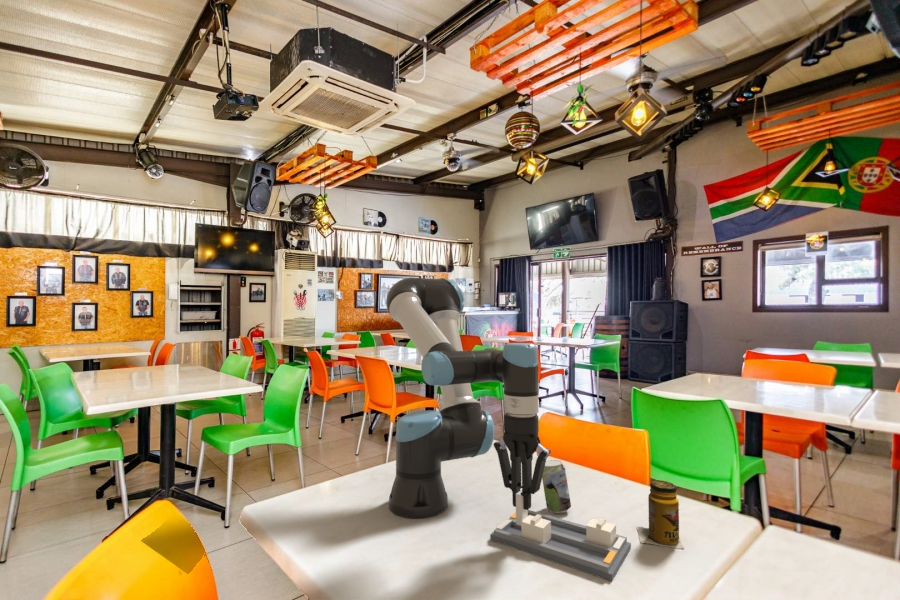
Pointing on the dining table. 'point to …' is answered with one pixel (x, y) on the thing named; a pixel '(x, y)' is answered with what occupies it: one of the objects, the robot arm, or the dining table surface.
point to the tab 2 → (601, 532)
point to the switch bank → (566, 546)
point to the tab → (536, 528)
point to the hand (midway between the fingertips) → (522, 522)
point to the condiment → (662, 516)
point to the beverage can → (556, 487)
